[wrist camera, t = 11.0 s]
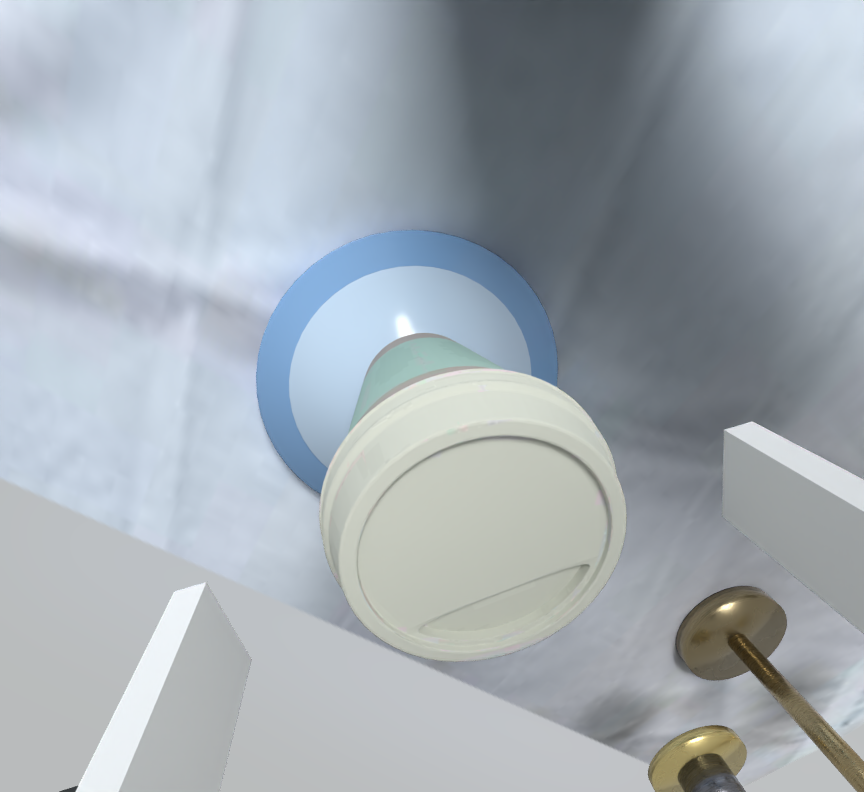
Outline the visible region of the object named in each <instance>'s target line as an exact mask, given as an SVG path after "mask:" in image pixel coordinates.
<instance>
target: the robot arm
mask: <svg viewBox="0 0 864 792" xmlns="http://www.w3.org/2000/svg"><path fill="white" fill-rule="evenodd" d="M722 517H723V518H724V519H725V520H727V521H728V522H729V523H730V524H731V525H733V526H734V527H735V528H736V529H737V530H739V531H740V532H741V533H742V534H743V535H745V536H746V537H747V538H748V539H750V540H751V541H752V542H753V543H754V544H756V545H757V546H758V547H759V548H760V549H762V550H763V551H764V552H765V553H766V554H768V555H769V556H770V557H771V558H772V559H774V560H775V561H776V562H777V563H778V564H780V565H781V566H782V567H783V568H785V569H786V570H787V571H788V572H789V573H791V574H792V575H793V576H794V577H795V578H797V579H798V580H799V581H800V582H801V583H803V584H804V585H805V586H806V587H807V588H809V589H810V590H811V591H812V592H814V593H815V594H816V595H817V596H818V597H820V598H821V599H822V600H823V601H824V602H826V603H827V604H828V605H829V606H830V607H832V608H833V609H834V610H835V611H836V612H838V613H839V614H840V615H841V616H842V617H844V618H845V619H846V620H847V621H849V622H850V623H851V624H852V625H853V626H855V627H856V628H857V629H858V630H859V631H861V632H862V633H863V634H864V479H862V478H860V477H858V476H856V475H854V474H852V473H850V472H849V471H847V470H845V469H843V468H841V467H839V466H837V465H835V464H833V463H831V462H829V461H827V460H825V459H824V458H822V457H820V456H818V455H816V454H814V453H812V452H810V451H808V450H806V449H804V448H802V447H801V446H799V445H797V444H795V443H793V442H791V441H789V440H787V439H785V438H783V437H781V436H779V435H778V434H776V433H774V432H772V431H770V430H768V429H766V428H764V427H762V426H760V425H758V424H756V423H755V422H753V421H752V422H749V423H745V424H742V425H738V426H735V427H732V428H728V429H725V430H724V448H723V490H722ZM251 660H252V659H251V658H250V656H249V654H248V652H247V651H246V649H245V647H244V645H243V644H242V642H241V640H240V639H239V637H238V635H237V634H236V632H235V630H234V628H233V627H232V625H231V623H230V621H229V620H228V618H227V616H226V615H225V613H224V611H223V610H222V608H221V606H220V605H219V603H218V601H217V599H216V598H215V596H214V594H213V593H212V591H211V589H210V587H209V586H208V584H207V582H205V583H202V584H198V585H195V586H192V587H188V588H185V589H181V590H178V591H174V593H173V595H172V597H171V600H170V601H169V604H168V606H167V608H166V610H165V612H164V614H163V616H162V618H161V620H160V622H159V624H158V626H157V628H156V630H155V632H154V634H153V636H152V638H151V640H150V642H149V644H148V646H147V648H146V650H145V652H144V654H143V656H142V658H141V660H140V662H139V664H138V666H137V668H136V670H135V672H134V674H133V676H132V678H131V680H130V682H129V685H128V686H127V689H126V691H125V693H124V695H123V697H122V699H121V701H120V703H119V705H118V707H117V709H116V711H115V713H114V715H113V717H112V719H111V721H110V723H109V725H108V727H107V729H106V731H105V733H104V735H103V737H102V739H101V741H100V743H99V745H98V747H97V749H96V751H95V753H94V755H93V757H92V759H91V761H90V763H89V765H88V768H87V769H86V772H85V773H84V776H83V778H82V780H81V782H80V784H79V786H75V787H72V788H69V789H66V790H63V791H60V792H219V791H220V787H221V783H222V779H223V775H224V771H225V767H226V763H227V759H228V755H229V751H230V746H231V742H232V738H233V734H234V730H235V726H236V722H237V718H238V714H239V709H240V705H241V701H242V697H243V693H244V689H245V685H246V681H247V677H248V672H249V668H250V664H251Z"/></svg>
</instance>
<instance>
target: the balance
mask: <svg viewBox="0 0 864 792" xmlns="http://www.w3.org/2000/svg"><path fill="white" fill-rule="evenodd" d="M786 626H787V619H786V614H785V612H784V610H783V609H782V607H781V606H780V605H779V604H777V603H776V602H775V601H774V600H773V599H772V598H771V597H770V596H769V595H767V594H766V593H765V592H764V591H762V590H761V589H758V588H755V587H750V586H738V587H732V588H729V589H725V590H723V591H720V592H718V593H716V594H713V595H712V596H710V597H708V598H707V599H705V600H704V601H702V602H701V603H700V604H698V605H697V606H696V607H695V608H694V609H693V610H692V611H691V612H690V613H689V614H688V615H687V617H686V618H685V619H684V621H683V622H682V624H681V626H680V628H679V631H678V633H677V638H676V647H677V651H678V653H679V655H680V656H681V658H682V659H683V660H684V662H685V663H686V664H687V666H688V667H689V668H690V670H691V671H692V672H693V673H694V674H695V675H697V676H698V677H700V678H703V679H707V680H725V679H730V678H733V677H736V676H739V675H741V674H744V673H746V672H748V671H751V672H752V673H753V674H754V675H755V676H756V678H757V679H758V680H759V681H760V682H761V683H762V684H763V686H764V687H765V688H766V689H767V690H768V691H769V692H770V693H771V695H772V696H773V697H774V698H775V699H776V700H777V701H778V703H779V704H780V705H781V706H782V707H783V708H784V709H785V710H786V712H787V713H788V714H789V715H790V716H791V717H792V718H793V720H794V721H795V722H796V723H797V724H798V725H799V726H800V727H801V729H802V730H803V731H804V732H805V733H806V734H807V735H808V737H809V738H810V739H811V740H812V741H813V742H814V743H815V744H816V746H817V747H818V748H819V749H820V750H821V751H822V752H823V754H824V755H825V756H826V757H827V758H828V759H829V760H830V761H831V763H832V764H833V765H834V766H835V767H836V768H837V769H838V771H839V772H840V773H841V774H842V775H843V776H844V777H845V778H846V780H847V781H848V782H849V783H850V784H851V785H852V786H853V787H854V789H855V790H856V791H857V792H864V761H863V760H862V759H861V758H860V757H859V756H858V755H857V754H856V753H855V752H854V751H853V749H852V748H851V747H850V746H849V745H848V744H847V743H846V742H845V741H844V740H843V739H842V738H841V737H840V736H839V735H838V734H837V732H836V731H835V730H834V729H833V728H832V727H831V726H830V725H829V724H828V723H827V722H826V721H825V720H824V719H823V718H822V717H821V716H820V714H819V713H818V712H817V711H816V710H815V709H814V708H813V707H812V706H811V705H810V704H809V703H808V702H807V701H806V700H805V699H804V698H803V696H802V695H801V694H800V693H799V692H798V691H797V690H796V689H795V688H794V687H793V686H792V685H791V684H790V683H789V682H788V681H787V680H786V678H785V677H784V676H783V675H782V674H781V673H780V672H779V671H778V670H777V669H776V668H775V667H774V666H773V665H772V664H771V663H770V662H769V660H768V659H767V658H768V657H769V656H770V655H771V654H772V653H773V651H774V650H775V649H776V648H777V646H778V645H779V643H780V642H781V640H782V638H783V636H784V634H785V630H786ZM746 756H747V750H746V747H745V745H744V744H743V742H742V741H741V740H740V738H739V737H738V736H737V734H736V733H735V732H734V731H733V730H732V729H730V728H728V727H724V726H718V725H711V726H704V727H699V728H696V729H693V730H690V731H687V732H685V733H683V734H681V735H679V736H677V737H676V738H674V739H673V740H671V741H670V742H668V743H667V744H666V745H665V746H664V747H663V748H661V749H660V750H659V752H658V753H657V754H656V755H655V757H654V758H653V760H652V761H651V763H650V766H649V770H648V777H649V780H650V782H651V784H652V786H653V788H654V790H655V792H746V791H745V790H744V788H743V787H742V785H741V784H740V782H739V781H738V780H737V778H736V777H735V776H736V775H737V774H738V772H739V771H740V770H741V768H742V767H743V765H744V763H745V760H746Z"/></svg>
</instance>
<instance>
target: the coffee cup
mask: <svg viewBox="0 0 864 792" xmlns="http://www.w3.org/2000/svg"><path fill="white" fill-rule="evenodd" d="M319 519H320V529H321V534H322V539H323V545H324V550H325V554H326V558H327V561H328V564H329V566H330V569H331V571H332V573H333V575H334V577H335V579H336V580H337V582H338V584H339V585H340V587H341V588H342V589H343V592H344V594H345V597H346V599H347V602H348V604H349V606H350V607H351V609H352V610H353V612H354V614H355V615H356V616H357V618H358V619H359V620H360V621H361V623H362V624H363V625H364V626H365V627H366V628H367V629H368V630H370V631H371V632H372V633H373V634H374V635H375V636H377V637H378V638H379V639H381V640H382V641H384V642H385V643H387V644H389V645H391V646H392V647H394V648H397V649H399V650H401V651H403V652H406V653H408V654H412V655H415V656H418V657H422V658H426V659H432V660H439V661H451V662H464V661H478V660H485V659H491V658H495V657H500V656H504V655H508V654H511V653H514V652H517V651H520V650H522V649H525V648H527V647H530V646H532V645H534V644H536V643H538V642H540V641H542V640H544V639H546V638H548V637H550V636H551V635H553V634H554V633H556V632H557V631H559V630H560V629H562V628H563V627H565V626H566V625H568V624H569V623H570V622H571V621H572V620H574V619H575V618H576V617H577V616H578V615H580V614H581V613H582V612H583V611H584V610H585V609H586V608H587V607H588V606H589V605H590V604H591V603H592V602H593V601H594V599H595V598H596V597H597V595H598V594H599V593H600V591H601V590H602V589H603V587H604V586H605V585H606V583H607V581H608V580H609V578H610V576H611V574H612V573H613V571H614V569H615V566H616V564H617V562H618V560H619V557H620V554H621V551H622V548H623V544H624V539H625V534H626V521H627V514H626V504H625V498H624V494H623V491H622V488H621V484H620V482H619V480H618V478H617V474H616V468H615V464H614V460H613V457H612V454H611V452H610V449H609V447H608V445H607V443H606V441H605V439H604V438H603V436H602V434H601V433H600V431H599V430H598V429H597V427H596V425H595V424H594V422H593V421H592V419H591V418H590V416H589V415H588V414H587V413H586V411H585V410H584V409H583V408H582V407H581V406H580V405H579V404H578V403H577V402H576V401H575V400H574V399H573V398H571V397H570V396H569V395H568V394H566V393H565V392H563V391H562V390H560V389H559V388H557V387H555V386H554V385H552V384H550V383H548V382H546V381H543V380H541V379H539V378H536V377H533V376H530V375H527V374H523V373H519V372H515V371H509V370H505V369H503V368H501V367H500V366H498V365H496V364H494V363H493V362H491V361H489V360H487V359H486V358H484V357H482V356H480V355H479V354H477V353H475V352H473V351H472V350H470V349H468V348H466V347H464V346H463V345H461V344H459V343H457V342H455V341H453V340H452V339H450V338H447V337H445V336H442V335H438V334H433V333H415V334H410V335H406V336H403V337H401V338H398V339H396V340H394V341H393V342H391V343H389V344H388V345H387V346H385V347H384V348H383V349H382V350H381V351H380V352H379V353H378V354H377V355H376V356H375V358H374V359H373V361H372V362H371V364H370V366H369V368H368V370H367V372H366V375H365V378H364V382H363V385H362V388H361V391H360V394H359V398H358V401H357V405H356V408H355V411H354V415H353V418H352V422H351V425H350V428H349V432H348V435H347V436H346V438H345V439H344V440H343V442H342V443H341V445H340V446H339V448H338V450H337V451H336V453H335V455H334V457H333V459H332V461H331V463H330V465H329V468H328V470H327V473H326V476H325V479H324V482H323V486H322V491H321V497H320V506H319Z"/></svg>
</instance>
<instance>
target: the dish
mask: <svg viewBox="0 0 864 792" xmlns="http://www.w3.org/2000/svg"><path fill="white" fill-rule="evenodd" d="M415 333H433V334H438V335H442V336H445V337H447V338H450V339H452V340H453V341H455V342H457V343H459V344H461V345H463V346H464V347H466V348H468V349H470V350H472V351H473V352H475V353H477V354H479V355H480V356H482V357H484V358H486V359H487V360H489V361H491V362H493V363H494V364H496V365H498V366H500V367H501V368H503V369H505V370H509V371H515V372H519V373H523V374H527V375H530V376H533V377H536V378H539V379H541V380H543V381H546V382H548V383H550V384H552V385H554V386H555V387H557V374H558V362H557V349H556V344H555V339H554V335H553V331H552V328H551V325H550V322H549V319H548V317H547V314H546V312H545V310H544V308H543V306H542V304H541V303H540V301H539V299H538V297H537V296H536V294H535V293H534V291H533V290H532V289H531V287H530V286H529V285H528V283H527V282H526V281H525V280H524V279H523V278H522V277H521V276H520V275H519V273H518V272H517V271H516V270H515V269H514V268H513V267H511V266H510V265H509V264H508V263H506V262H505V261H504V260H502V259H501V258H500V257H499V256H497V255H496V254H494V253H492V252H490V251H489V250H487V249H485V248H483V247H482V246H480V245H478V244H475V243H473V242H470V241H468V240H465V239H462V238H460V237H456V236H452V235H448V234H444V233H439V232H431V231H421V230H400V231H389V232H384V233H378V234H373V235H369V236H366V237H363V238H360V239H357V240H355V241H352V242H349V243H347V244H345V245H343V246H341V247H339V248H337V249H335V250H333V251H331V252H330V253H329V254H327V255H326V256H324V257H323V258H321V259H320V260H319V261H317V262H316V263H314V264H313V265H312V266H311V267H310V268H309V269H308V270H307V271H306V272H304V273H303V274H302V275H301V276H300V277H299V278H298V279H297V280H296V281H295V282H294V284H293V285H292V286H291V287H290V289H289V290H288V291H287V292H286V293H285V295H284V296H283V297H282V299H281V300H280V302H279V304H278V305H277V307H276V309H275V310H274V312H273V314H272V316H271V318H270V320H269V323H268V325H267V327H266V330H265V332H264V335H263V338H262V342H261V346H260V350H259V354H258V362H257V372H256V383H257V398H258V403H259V408H260V413H261V416H262V419H263V422H264V425H265V428H266V431H267V433H268V435H269V437H270V439H271V441H272V443H273V445H274V447H275V449H276V450H277V452H278V453H279V454H280V456H281V457H282V459H283V460H284V462H285V463H286V464H287V465H288V466H289V468H290V469H291V470H292V471H293V472H294V473H295V474H296V475H297V476H298V477H299V478H300V479H301V480H302V481H304V482H305V483H306V484H307V485H308V486H310V487H311V488H312V489H313V490H315V491H317V492H318V493H320V494H321V491H322V486H323V482H324V479H325V476H326V473H327V470H328V468H329V465H330V463H331V461H332V459H333V457H334V455H335V453H336V451H337V450H338V448H339V446H340V445H341V443H342V442H343V440H344V439H345V438H346V436H347V435H348V432H349V428H350V425H351V422H352V418H353V415H354V411H355V408H356V405H357V401H358V398H359V394H360V391H361V388H362V385H363V382H364V378H365V375H366V372H367V370H368V368H369V366H370V364H371V362H372V361H373V359H374V358H375V356H376V355H377V354H378V353H379V352H380V351H381V350H382V349H383V348H384V347H385V346H387V345H388V344H389V343H391V342H393V341H394V340H396V339H398V338H401V337H403V336H406V335H410V334H415Z"/></svg>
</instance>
